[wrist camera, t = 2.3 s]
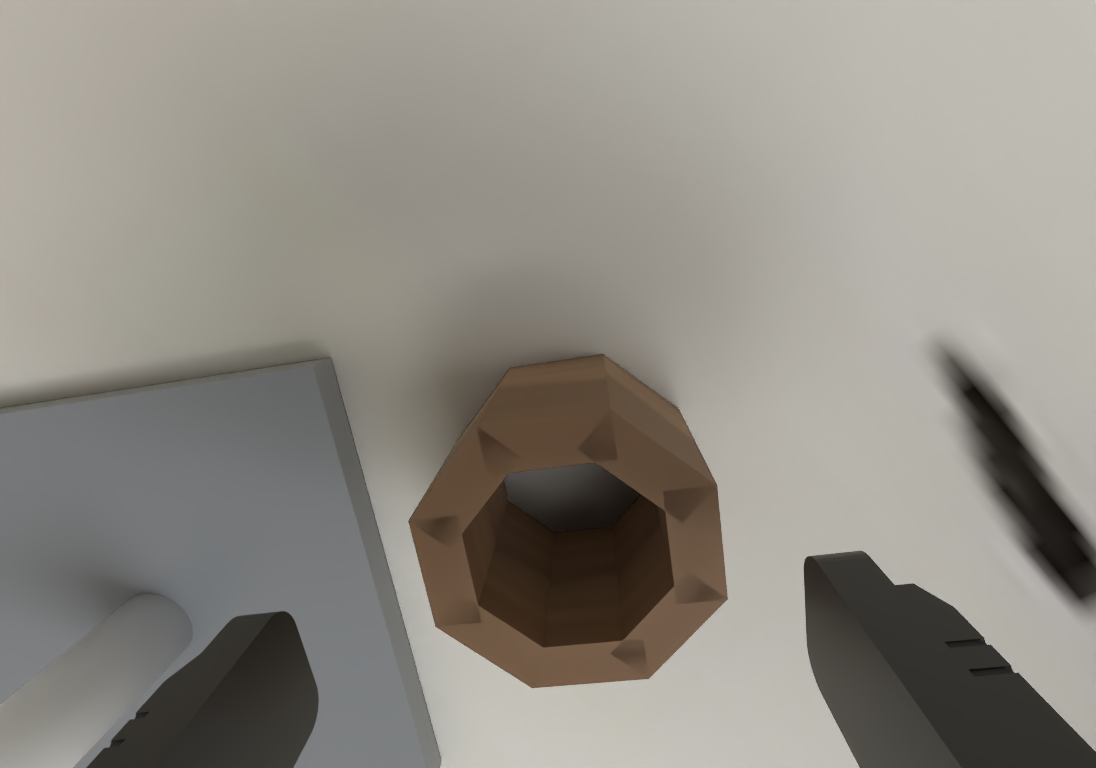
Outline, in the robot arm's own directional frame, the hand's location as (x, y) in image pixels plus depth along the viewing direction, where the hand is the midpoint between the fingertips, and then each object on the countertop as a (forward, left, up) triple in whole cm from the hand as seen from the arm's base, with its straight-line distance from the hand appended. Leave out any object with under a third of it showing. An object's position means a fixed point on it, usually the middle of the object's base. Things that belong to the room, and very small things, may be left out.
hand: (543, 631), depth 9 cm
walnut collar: (0, 0, -7) cm, 7 cm away
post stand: (+13, +3, -7) cm, 15 cm away
